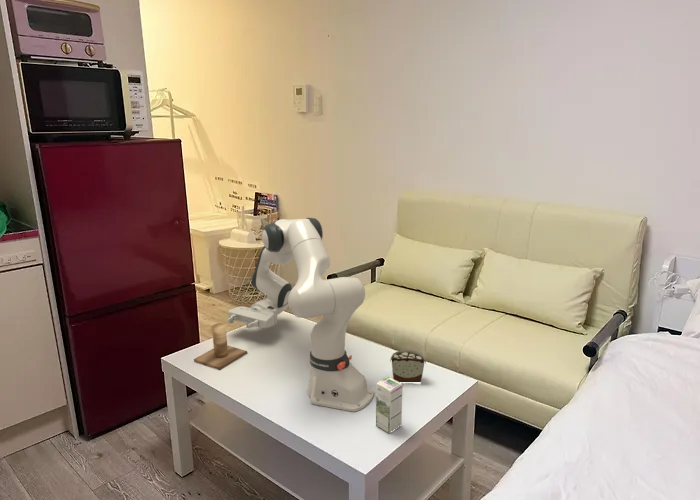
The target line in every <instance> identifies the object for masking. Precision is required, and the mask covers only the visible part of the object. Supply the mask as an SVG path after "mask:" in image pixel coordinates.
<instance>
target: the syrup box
mask: <svg viewBox="0 0 700 500" xmlns="http://www.w3.org/2000/svg"><path fill="white" fill-rule="evenodd" d="M375 387H376V389H375V390H376V391H375V393H376V395H375V397H376V398H375V426H376V427H377V426H378V428H379V429H380V430H382V429H383V430H382V431H384V430H385V431H384V432H386V431H387V432H386V433H388V432H389V433H390V432H391V431H393V430H394V429H396V428H397V427H398V426H400V425H401V424H402V423H403V422H402V421H403V420H402V417H403V391H404V390H403V384H402V383H400V382H398V381H396V380H394V379H393V377H392V378H391V377H389V376H387V377H385V378H383V379H381V380H380V381H378V382H377V383H376V386H375ZM393 432H394V431H393ZM389 433H388V434H389ZM390 434H391V433H390Z"/></svg>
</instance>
